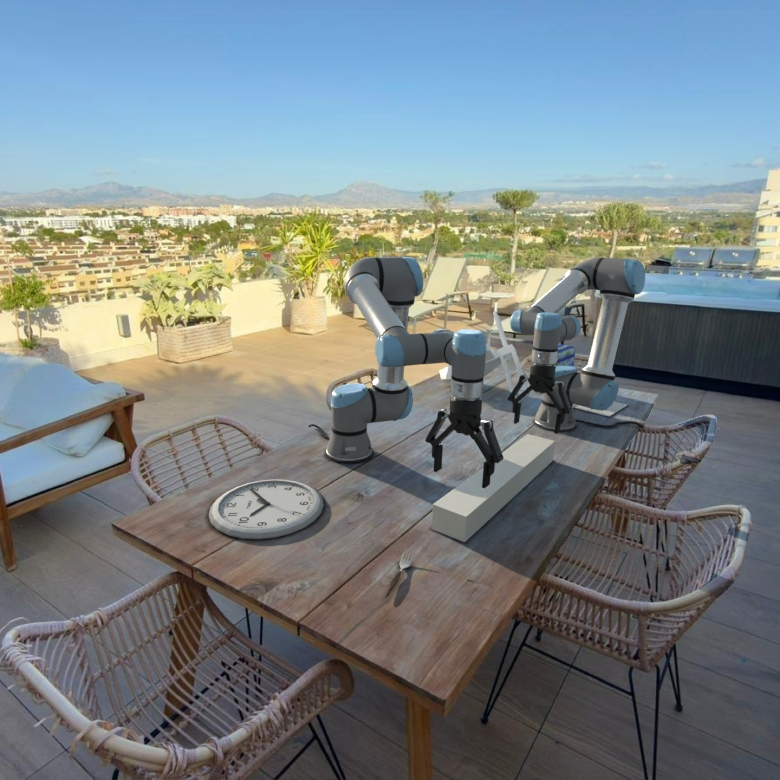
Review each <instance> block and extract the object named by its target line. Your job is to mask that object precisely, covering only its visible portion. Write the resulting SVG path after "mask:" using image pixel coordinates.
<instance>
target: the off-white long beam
mask: <svg viewBox="0 0 780 780" xmlns="http://www.w3.org/2000/svg"><path fill="white" fill-rule="evenodd" d="M555 448H556V440H554V439H549V438H545V437H541V436H537V435H533V434H529V433H527V434H526V435H524V436H523V437H521V438H520V439H518V441H516V442H515V443H513V444H512V445H511V446H509V447H508V448H507V449H505V450H504V451H503V452H502V454H503V460H501V461H500V462H499V463H495V470H494V473H493V474H492V475H491V477H490V485H488V486H487V487H486V488H482V480H483V467H481V468H480V469H478V470H477V471H476V472H474V473H473V474H472V475H470V476H469V477H468V478H466V479H465V480H464V481H463V482H461V483H460V484H458V485H457V486H456V487H454V488H453V489H452V490H450V491H449V492H448V493H446V494H445V495H443V496H442V497H441V498H439V499H438V500H437V501H435V502H433V504H432V515H431V517H432V518H431V530H433V531H436V532H438V533H440V534H443V535H445V536H448V537H450V538H453V539H455V540H457V541H460V542H462V543H466V542H467V541H468V540H469V539H470V538H471V537H472V536H473V535H475V534H476V533H477V532H478V531H479V530H480V529H481V528H482V527H483V526H484V525H486V523H487V522H488V521H489V520H491V519H492V518H493V517H494V516H495V515H496V514H497V513H498V512H499V511H501V509H502V508H503V507H505V506H506V505H507V504H508V503H509V502H510V501H511V500H512V499H514V497H515V496H517V495H518V494H519V493H520V492H522V490H523V489H524V488H525V487H526V486H527V485H528V484H530V483H531V482H532V481H533V480H534V479H535V478H536V477H537V476H538V475H539V474H541V472H543V471H544V469H546V468H547V467H548V466H550V464H551V463H552V462H553V461H554V455H555Z"/></svg>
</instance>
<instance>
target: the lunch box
mask: <svg viewBox="0 0 780 780" xmlns="http://www.w3.org/2000/svg"><path fill="white" fill-rule="evenodd" d="M575 357H576V349H575V346H572V345H565V344H560V343H559V345H558V354H557V363H556V364H555V365H556V366H573V367H575V360H576V358H575Z"/></svg>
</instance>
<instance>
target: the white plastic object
mask: <svg viewBox="0 0 780 780" xmlns="http://www.w3.org/2000/svg"><path fill="white" fill-rule="evenodd" d="M492 315H493V319H494V321H495V324H496V325H495V326H496V328H497V332H498V335H499V338H500V342H501V345H502V347H500V348H498V349H496V350H495V349H493V348H492V347H491V346H490V344H489V343H488V342H486V348H487V349H486V350H487V351H486V358H485V369H484V378H485V377H486V376H487V375H489V374H490V373H492V372H494V371H495V370H496V369H497V368H499V367H500V366H502V370H503V373H504V376H505V380H506V383H507V386H508V390H509V393H511V392H512V391H513V389H514V388H515V385H514V381H513V378H512V375H511V371H510V369H509V365H508V361H510V360H513V363H514V366H515V369H516V372H517V376H518V378H519V377H520V376H521V375H523V374H524V371H523V369H522V368H523V367H522V366H521V362H520V359H519V355H518V352H517V349H516V347H515V346H514V345H513V343H511V344H508V341H507V337H506V334H505V331H504V328H503V325H502V321H501V318H500V315H499V314H498V312H497V311H496V310H495V311H492ZM438 372H439V376H440V381H442V383H443V384H444V385H445V386H449V385H450V386H451V375H452V366H451V365H449V364H448V366H446V367H444V368H442V369H440V370H439V371H438ZM528 387H529V386H528V384H527V381H526V382H524V384H523V385H522V387H521V389H522V392H524V391H525V390H526V389H527V388H528ZM517 395H518V394H517ZM517 395H516V396H515V398H517V397H518V396H517ZM528 396H531V395H530V392H529V393H528V394H527V395H526V396H525V397H528Z"/></svg>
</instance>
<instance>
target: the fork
mask: <svg viewBox="0 0 780 780" xmlns="http://www.w3.org/2000/svg"><path fill="white" fill-rule="evenodd" d="M406 549H407V551H406ZM408 553H409V554H408ZM411 553H412V555H411ZM414 555H415V551H413V552H412V549H410V552H409V548H406V547H404V551H403V553H402V556H401V558H400V561H399V566H400V569H399V570H398V572H397V573H396V574H395V575H394V577H393V578H392V580H391V583H390V585H389V587H388V590H387V592H386V594H385V599H387V598H388V596H389V595H390V594H391V592H392V591H393V589H394V588H395V587H396V585H397V583H398V582H399V579H400V576H401V574H402V571H403V570H405V569H408V568H409V567H411V565H412V562H413V559H414ZM410 557H411V558H410Z"/></svg>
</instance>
